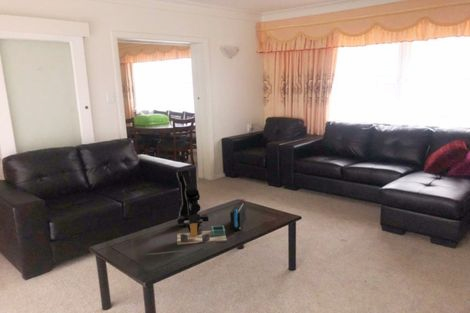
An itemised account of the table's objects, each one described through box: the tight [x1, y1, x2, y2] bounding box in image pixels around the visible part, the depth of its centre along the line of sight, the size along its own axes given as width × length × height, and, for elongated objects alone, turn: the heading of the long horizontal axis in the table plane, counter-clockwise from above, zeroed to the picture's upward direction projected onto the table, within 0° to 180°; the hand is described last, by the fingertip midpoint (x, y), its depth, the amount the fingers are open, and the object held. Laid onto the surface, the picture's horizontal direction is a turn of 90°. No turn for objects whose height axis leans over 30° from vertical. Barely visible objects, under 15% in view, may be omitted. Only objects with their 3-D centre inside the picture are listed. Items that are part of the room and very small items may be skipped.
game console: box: [229, 198, 247, 231], centre depth 250 cm, size 28×6×15 cm, turn 167°
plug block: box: [190, 223, 197, 237], centre depth 227 cm, size 4×4×9 cm
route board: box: [176, 224, 228, 245], centre depth 230 cm, size 17×30×5 cm, turn 98°
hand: (193, 232), depth 228 cm, fingers closed on plug block, 4 cm apart
